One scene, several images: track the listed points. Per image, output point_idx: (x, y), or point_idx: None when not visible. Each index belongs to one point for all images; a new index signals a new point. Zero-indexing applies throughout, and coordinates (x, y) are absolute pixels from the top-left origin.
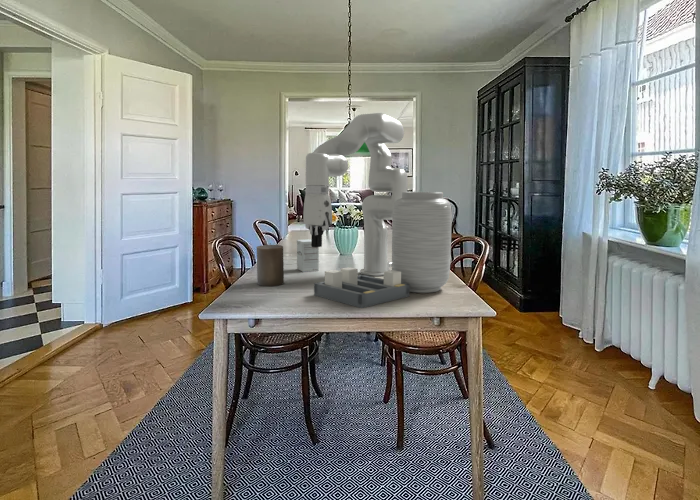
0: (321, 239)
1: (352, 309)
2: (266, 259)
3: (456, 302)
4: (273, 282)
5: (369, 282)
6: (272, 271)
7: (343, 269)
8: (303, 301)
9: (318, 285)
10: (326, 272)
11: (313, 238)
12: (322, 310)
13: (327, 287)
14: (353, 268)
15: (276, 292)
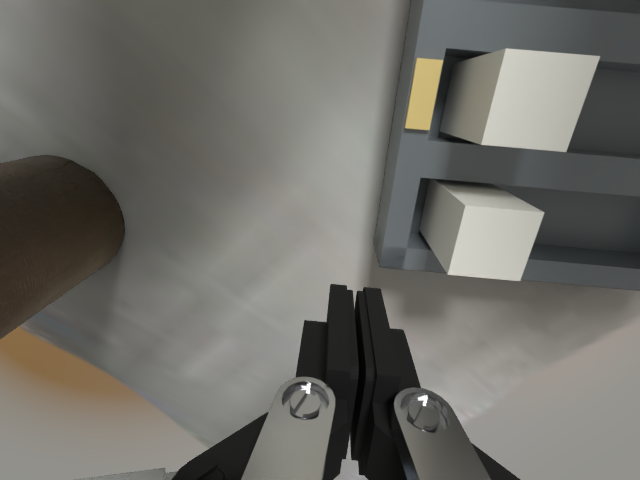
0: (388, 336)
1: (623, 299)
2: (9, 332)
3: None
4: (114, 248)
5: (635, 42)
6: (77, 275)
7: (509, 146)
8: (406, 326)
9: (410, 267)
10: (461, 273)
11: (351, 431)
12: (533, 361)
13: None
14: (560, 64)
15: (230, 300)
